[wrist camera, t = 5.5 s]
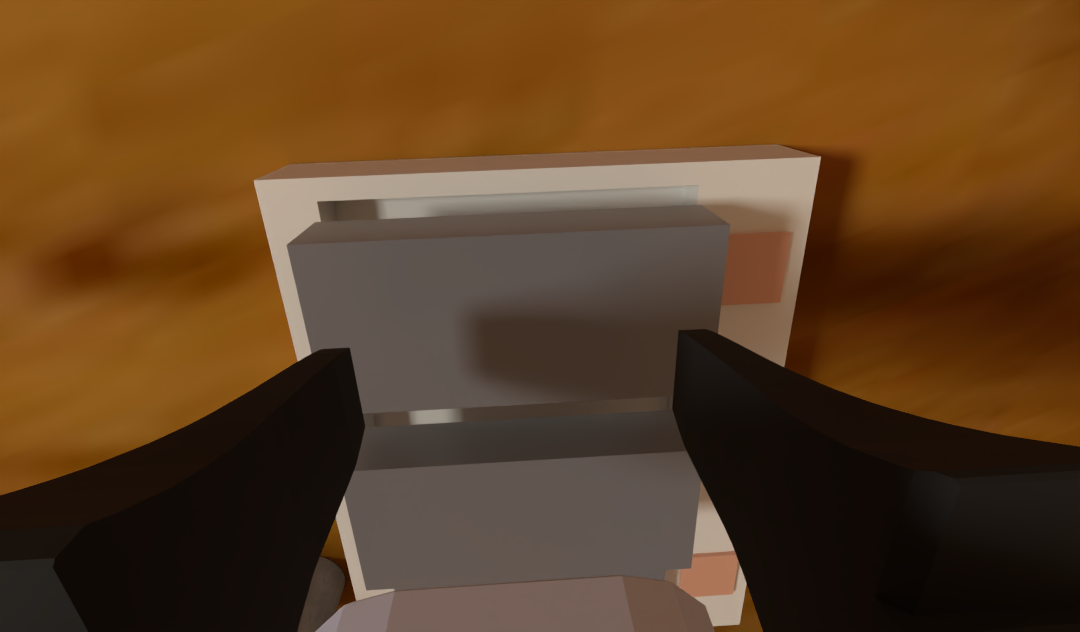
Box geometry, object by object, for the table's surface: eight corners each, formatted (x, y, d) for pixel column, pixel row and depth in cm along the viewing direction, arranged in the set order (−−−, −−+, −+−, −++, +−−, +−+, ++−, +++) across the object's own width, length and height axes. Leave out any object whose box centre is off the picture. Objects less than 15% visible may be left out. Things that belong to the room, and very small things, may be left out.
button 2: (701, 204, 16) (730, 224, 14) (688, 357, 18) (710, 394, 16) (315, 221, 15) (286, 245, 13) (346, 376, 17) (325, 416, 15)
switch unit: (777, 144, 19) (824, 157, 17) (716, 570, 28) (741, 628, 25) (290, 163, 19) (250, 181, 16) (382, 593, 28) (367, 655, 25)
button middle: (683, 409, 19) (704, 449, 17) (673, 520, 21) (690, 568, 19) (357, 427, 18) (338, 472, 16) (380, 539, 20) (366, 590, 18)
